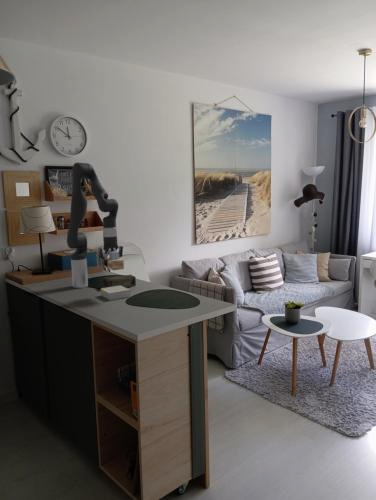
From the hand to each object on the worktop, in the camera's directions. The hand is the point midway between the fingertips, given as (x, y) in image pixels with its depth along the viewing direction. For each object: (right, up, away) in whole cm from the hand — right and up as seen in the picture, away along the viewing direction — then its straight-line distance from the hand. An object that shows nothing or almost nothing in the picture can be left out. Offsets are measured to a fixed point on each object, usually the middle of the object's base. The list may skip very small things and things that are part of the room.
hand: (111, 265), depth 226 cm
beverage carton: (+1, -14, +22) cm, 26 cm away
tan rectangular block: (+1, -1, -2) cm, 3 cm away
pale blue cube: (+2, +4, -4) cm, 5 cm away
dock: (+2, -17, -1) cm, 17 cm away
